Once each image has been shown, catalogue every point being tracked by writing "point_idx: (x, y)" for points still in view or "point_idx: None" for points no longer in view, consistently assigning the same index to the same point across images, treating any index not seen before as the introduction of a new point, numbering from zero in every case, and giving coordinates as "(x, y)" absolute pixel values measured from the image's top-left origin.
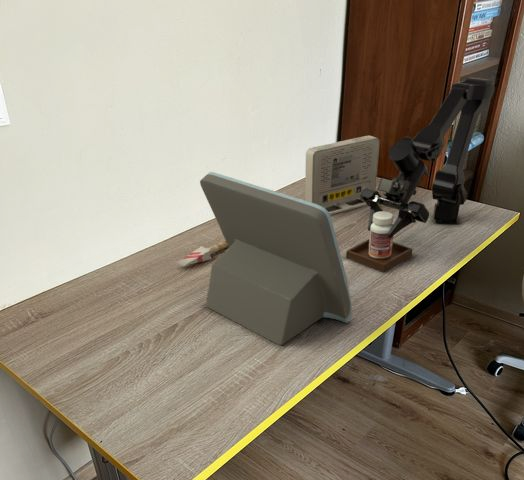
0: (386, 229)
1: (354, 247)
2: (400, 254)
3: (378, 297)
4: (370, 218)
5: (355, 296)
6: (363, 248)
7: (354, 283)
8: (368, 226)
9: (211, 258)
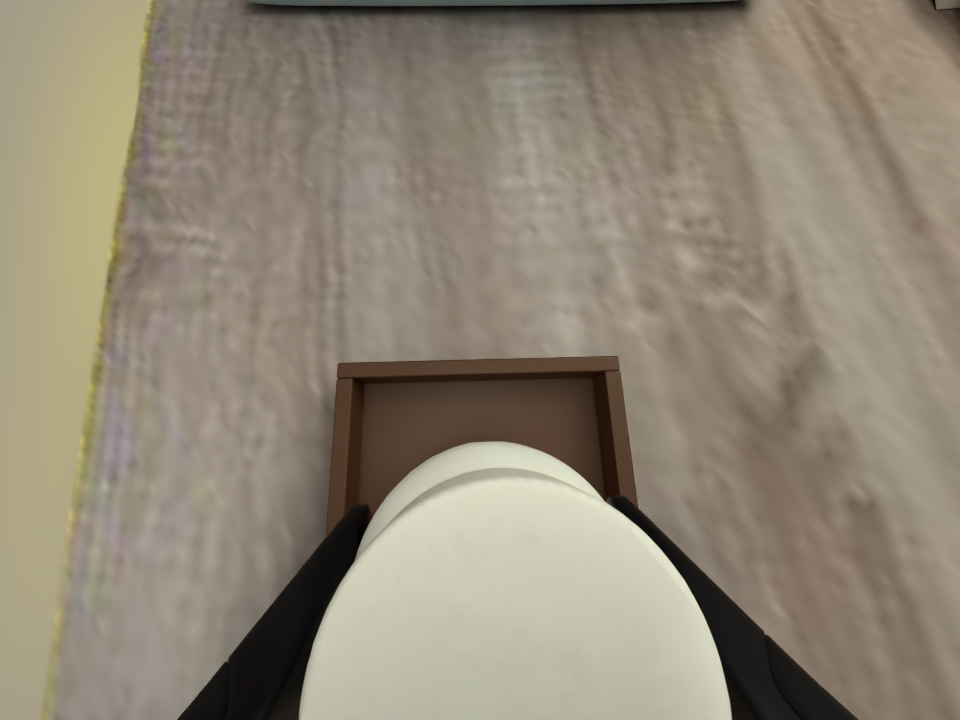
0: (377, 523)
1: (619, 424)
2: None
3: (248, 184)
4: (721, 608)
5: (330, 135)
6: None
7: (398, 206)
8: (639, 514)
9: (939, 4)
